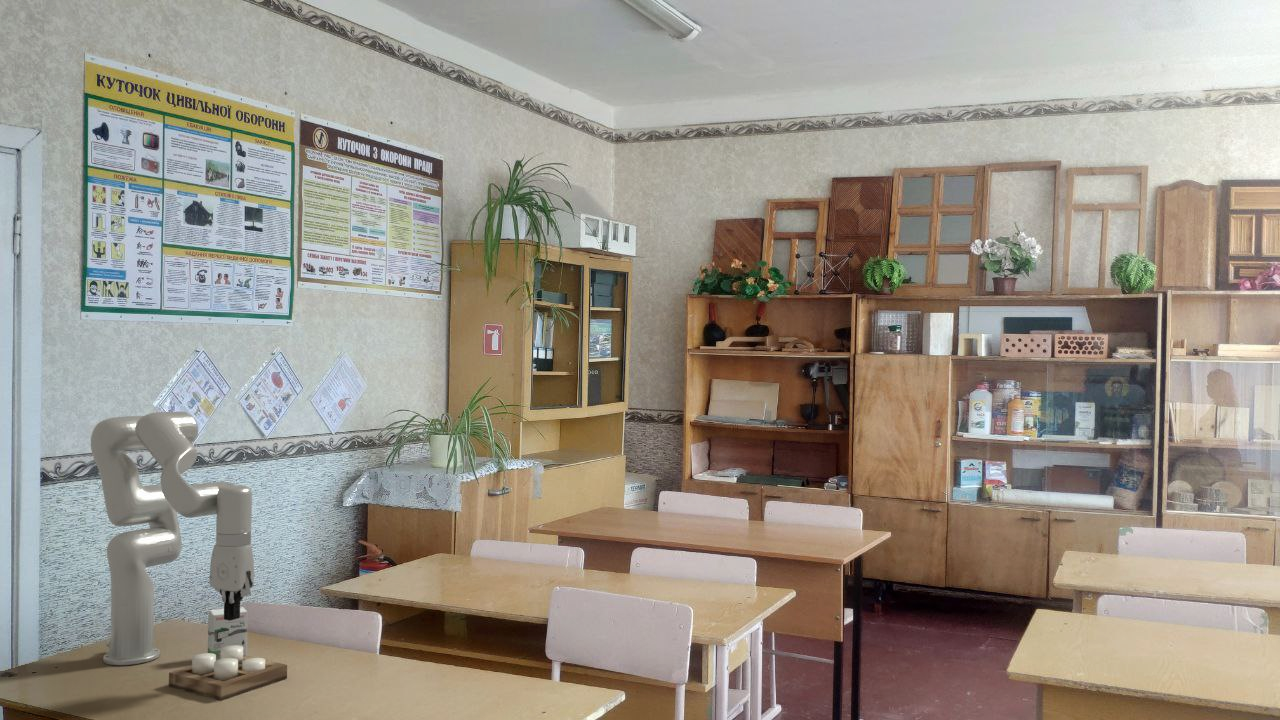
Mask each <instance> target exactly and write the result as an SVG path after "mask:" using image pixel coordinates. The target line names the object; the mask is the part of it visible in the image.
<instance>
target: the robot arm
mask: <svg viewBox="0 0 1280 720" xmlns="http://www.w3.org/2000/svg"><path fill="white" fill-rule="evenodd" d="M198 435H199V424H198V422H197V420H196V418H195V417H194V416H193V415H191V413H188V412H186V411H164V412H163V411H160V412H159V411H158V412H151V413H148V414H145V415H138V416H137V415H135V416H134V415H133V416H129V415H128V416H117V417H110V418H109V417H108V418H106V419H103V420H101V421H100V422H98V423H97V424H96V425H94V428H93V430H92V432H91V436H90V450H91V454H92V458H93V459H94V463H95V464H96V467H97V470H98V473H99V476H100V479H101V487H102V491H103V497H104V498H103V499H104V504H105V511H106V513H107V517H108V519H109V522H110V523H111V524H112V525H114V527H115V526H116V527H129V526H137V525H144V524H148V525H149V527H148V528H140V529H134V530H133V529H132V530H129V531H123V532H121V533H118V534H116V535H115V536H113V537H112V538H111V539H110V540H109V542H108V543H107V546H106V558H107V562H108V567H109V574H110V639H109V640H106V641H105V642H104V643H105V644H104V645H105V647H108V649H109V651H108V652H107V653H106V654H104V655H103V658H102V661H103V663H105V664H107V665H111V666H112V665H113V666H131V665H132V666H133V665H138V664H143V663H147V662H151V661H154V660H156V659H158V658H159V657H160V655H161V650H160V649H159V648H156V647H154V617H155V615H154V614H155V613H154V612H155V607H154V606H155V602H154V601H155V587H154V582H153V579H152V578H151V577H150V575H149V574H148V573H147V571H146V569H147V568H149V567H156V566H159V565H164V564H169V563H172V562H174V561H176V560H177V559H178V558H179V556H180V555H181V552H182V544H183V543H182V536H181V530H180V525H179V520H178V515H180V516H182V517H184V518H188V519H189V518H190V519H191V518H199V517H200V518H201V517H207V516H214V515H215V516H216V524H215V525H216V526H215V527H216V530H215V544H214V545H213V549H212V552H211V556H210V557H211V558H210V565H209V577H208V578H209V579H208V580H209V581H208V583H209V586H210V587H211V588H213V589H214V591H215V592H217V593H219V594H220V595H221V600H222V602H223V609H224V620H228V621H231V620H234V619H238V618H240V607H241V602H242V601H243V598H244V597H249V596H250V595H251V594H252V593H251V592H252V591H251V589H252V588H253V586H254V582H255V566H254V554H253V548H252V517H253V516H252V515H253V514H252V508H253V507H252V505H253V492H252V489H251V488H250V487H249V486H247V485H237V484H233V483H231V482H228V481H214V482H204V483H195V484H190V483H188V482H187V480H186V479H184V477H183V476H182V474H183V473H186V471H188V470H189V469H191V467H192V466H193V465H194V464H195V462H196V460H197V459H198V451H197V449H196V447H195V446H194V444H192V443H193V442H195V441H196V439H197V437H198ZM139 450H147V451H148V452H149V454H150V455H151V456H152V457H153V459H154V460H155V461H156V462H157V463H158V464H159V466H160V467H161V468H162V471H161V474H160V484H150V485H143V484H142V483H141V478H140V473H139V469H138V466H137V464H135V462H134V461H133V460H132V458H130V456H129V455H127V454H126V453H125V452H126V451H139Z"/></svg>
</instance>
